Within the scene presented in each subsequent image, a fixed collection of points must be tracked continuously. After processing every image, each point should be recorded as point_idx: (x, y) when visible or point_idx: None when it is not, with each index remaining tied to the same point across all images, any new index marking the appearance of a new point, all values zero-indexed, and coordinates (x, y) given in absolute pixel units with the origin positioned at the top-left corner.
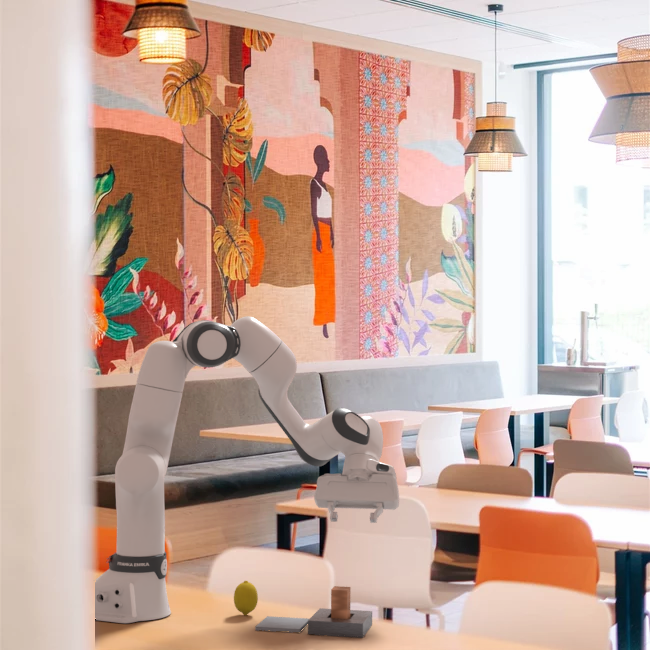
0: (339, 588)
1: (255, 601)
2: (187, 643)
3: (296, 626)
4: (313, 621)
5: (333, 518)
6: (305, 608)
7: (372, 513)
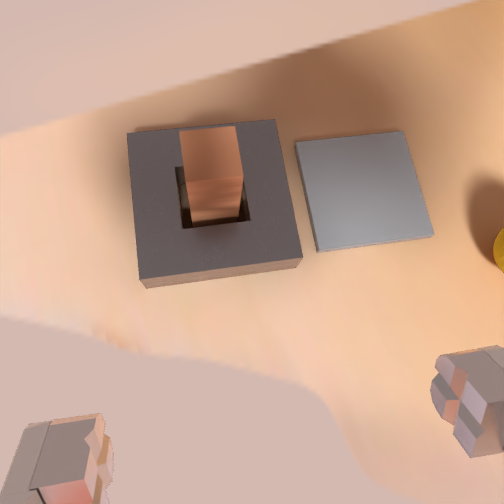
0: (214, 148)
1: (500, 242)
2: (461, 11)
3: (315, 161)
4: (260, 121)
5: (460, 353)
6: (406, 414)
7: (59, 475)
